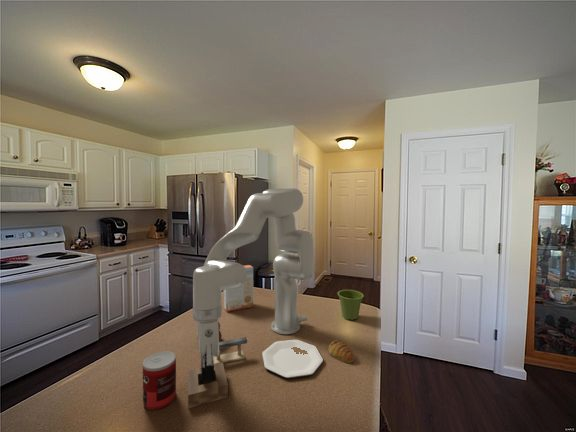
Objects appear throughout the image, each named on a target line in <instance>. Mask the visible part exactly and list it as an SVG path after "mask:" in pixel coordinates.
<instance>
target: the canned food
mask: <svg viewBox="0 0 576 432" xmlns="http://www.w3.org/2000/svg"><path fill="white" fill-rule="evenodd" d="M176 356H177V355H176V354H175V352H173V351H169V350H165V351H164V350H163V351H158V352H154V353H152V354H151V355H149V356H147V357H146V358H145V359H144V360H143V362H142V403H143V406H144V407H145V408H146V409H147V410H151V411H152V410H153V411H155V410H160V409H163V408H165V407H167V406H169V405H170V404H171V403H172V402H173V400H174V399H175V397H176V394H177V357H176Z"/></svg>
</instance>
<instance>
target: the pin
mask: <svg viewBox="0 0 576 432" xmlns="http://www.w3.org/2000/svg"><path fill="white" fill-rule="evenodd" d="M205 355H206V354H205ZM205 361H206V359H205ZM202 366H203V359H201V358H200V368H201V385H203V384H207V383H211V382H213V379H211V380H207V381H202Z"/></svg>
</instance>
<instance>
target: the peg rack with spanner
mask: <svg viewBox="0 0 576 432" xmlns="http://www.w3.org/2000/svg"><path fill="white" fill-rule="evenodd" d="M245 344H248V339H247V337H246V336H244V337H239V338H233V339H228V340H223V341H220V342H219V356H213V364H214V365H215V364H220V363H223V364H226V363H230V362H236V361H239V360H244V359H245V358H246V356H245V354H244V351H243V350H242V345H245ZM236 346H237V350H236V351H232V352H228V353H223V354H221V349H225V348H230V347H236Z"/></svg>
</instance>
